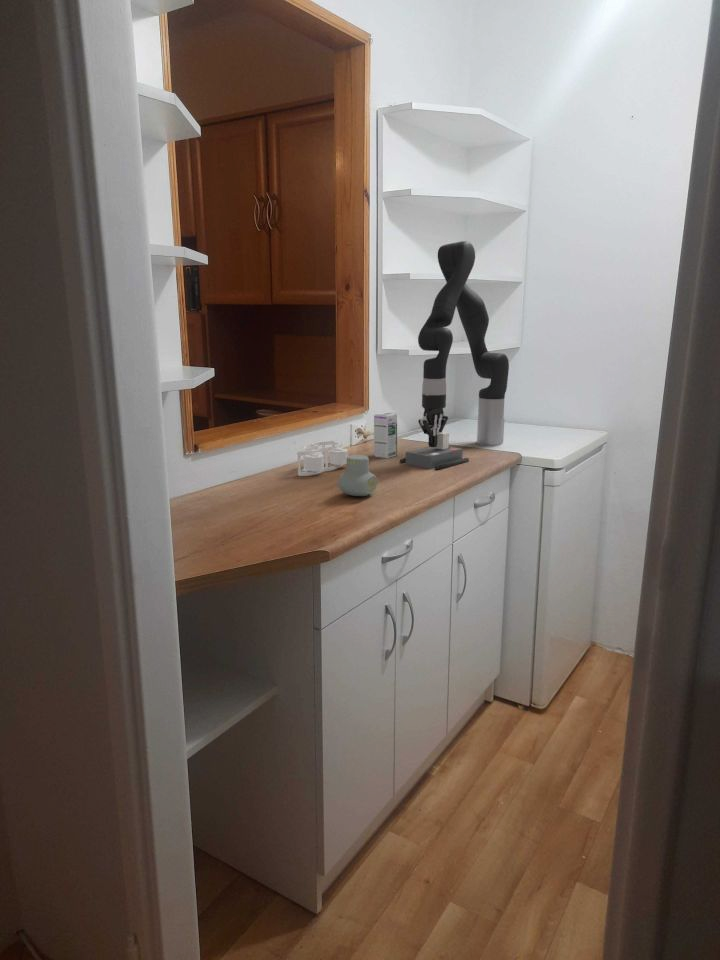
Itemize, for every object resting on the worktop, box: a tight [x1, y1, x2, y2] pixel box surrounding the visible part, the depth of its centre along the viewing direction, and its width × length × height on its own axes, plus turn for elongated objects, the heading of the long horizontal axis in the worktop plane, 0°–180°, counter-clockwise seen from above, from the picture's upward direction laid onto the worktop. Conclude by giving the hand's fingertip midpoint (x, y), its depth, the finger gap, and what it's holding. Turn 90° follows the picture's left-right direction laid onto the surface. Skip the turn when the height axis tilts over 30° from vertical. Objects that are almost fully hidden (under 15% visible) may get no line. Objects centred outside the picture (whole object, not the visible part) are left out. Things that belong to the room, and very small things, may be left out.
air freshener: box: [337, 454, 379, 497], centre depth 180 cm, size 11×8×10 cm
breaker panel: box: [405, 445, 464, 470], centre depth 219 cm, size 17×10×4 cm, turn 137°
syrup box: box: [373, 412, 398, 459], centre depth 227 cm, size 6×6×14 cm
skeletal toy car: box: [296, 440, 349, 477], centre depth 208 cm, size 20×11×7 cm, turn 140°
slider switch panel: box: [399, 457, 470, 471], centre depth 219 cm, size 17×15×1 cm
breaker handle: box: [433, 431, 450, 450], centre depth 220 cm, size 3×4×5 cm
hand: (432, 446), depth 217 cm, fingers closed
